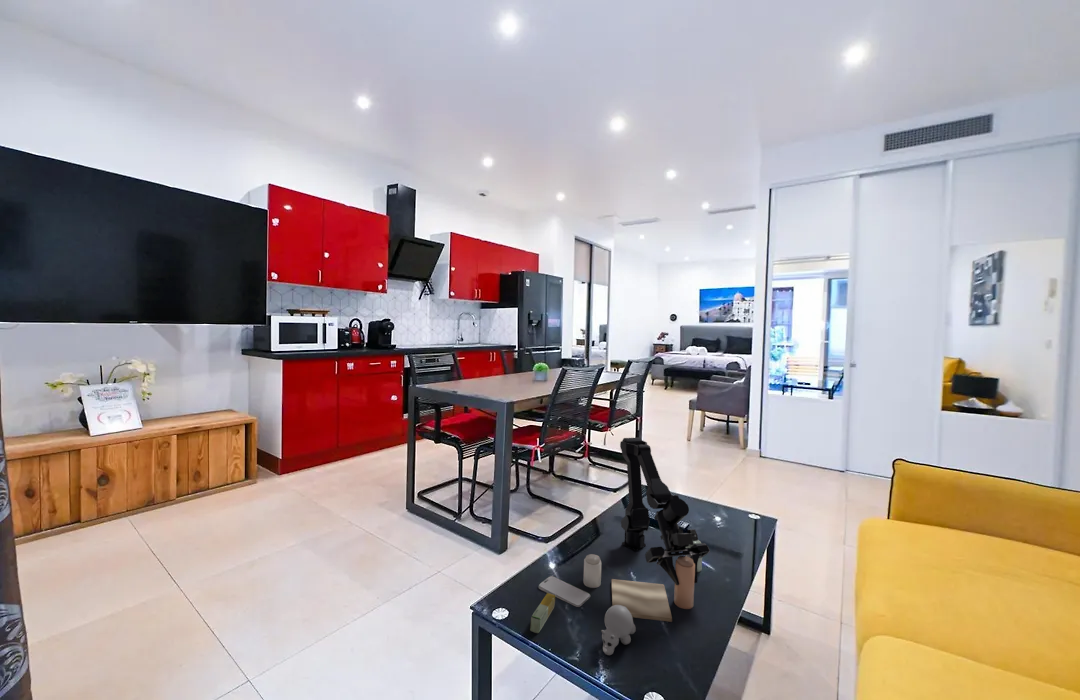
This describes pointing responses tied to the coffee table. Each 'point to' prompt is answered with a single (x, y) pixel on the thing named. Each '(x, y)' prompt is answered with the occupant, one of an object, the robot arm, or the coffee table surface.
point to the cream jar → (592, 571)
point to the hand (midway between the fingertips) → (687, 584)
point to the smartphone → (564, 591)
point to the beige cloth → (642, 599)
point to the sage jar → (699, 564)
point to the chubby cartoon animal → (617, 628)
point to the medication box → (542, 613)
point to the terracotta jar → (684, 582)
